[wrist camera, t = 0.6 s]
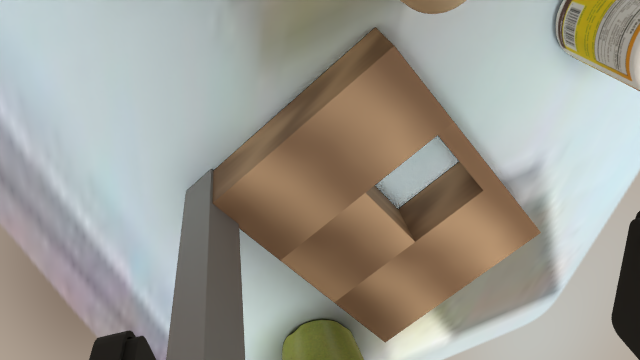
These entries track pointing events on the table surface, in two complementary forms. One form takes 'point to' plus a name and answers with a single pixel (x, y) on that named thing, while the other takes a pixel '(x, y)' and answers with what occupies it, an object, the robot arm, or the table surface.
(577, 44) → the supplement bottle
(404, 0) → the peg
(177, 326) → the awning
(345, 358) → the plant pot
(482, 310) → the table surface
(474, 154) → the socket block
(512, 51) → the table surface
